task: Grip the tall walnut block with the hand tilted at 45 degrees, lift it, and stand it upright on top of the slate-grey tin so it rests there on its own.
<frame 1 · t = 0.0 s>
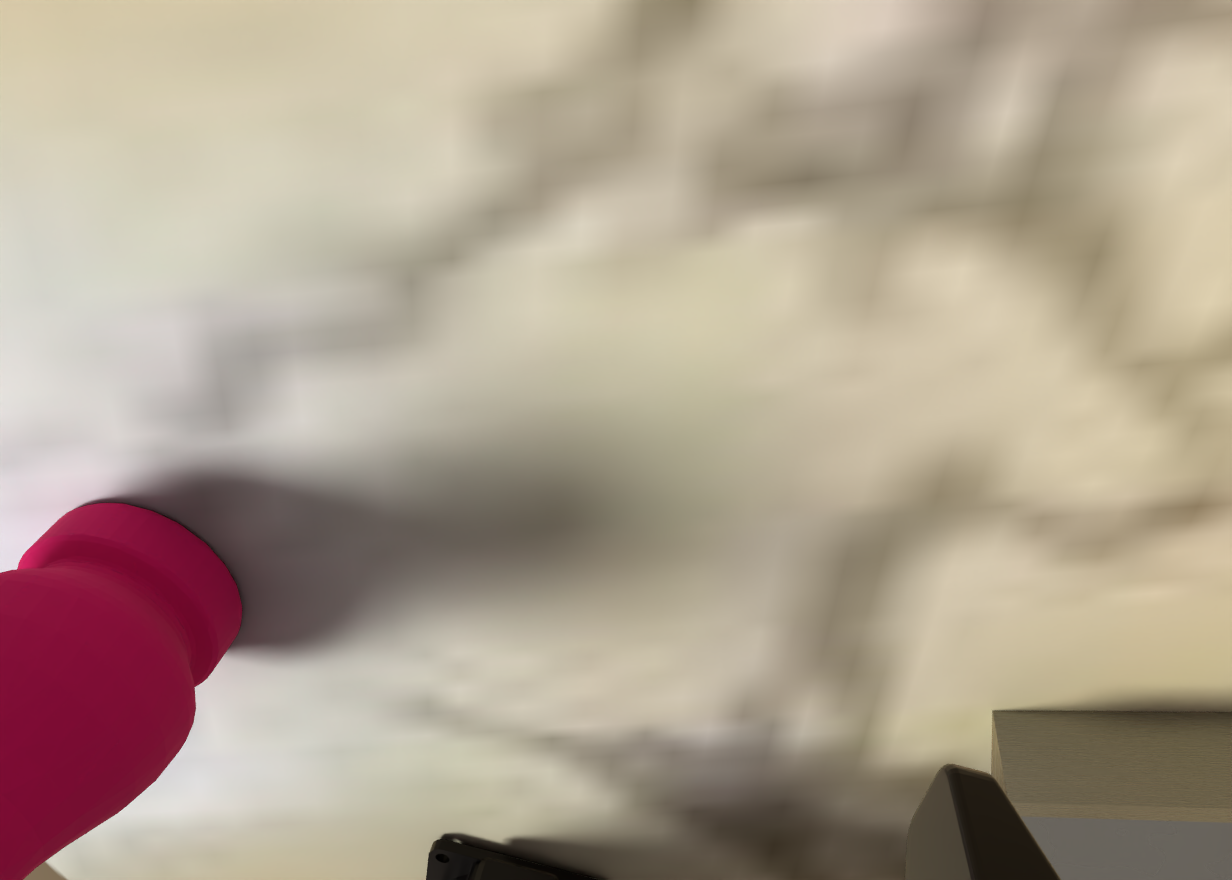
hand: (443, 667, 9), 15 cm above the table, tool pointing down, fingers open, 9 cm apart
pepper mill: (151, 577, 31), on the table
slate tin: (1185, 833, 30), on the table
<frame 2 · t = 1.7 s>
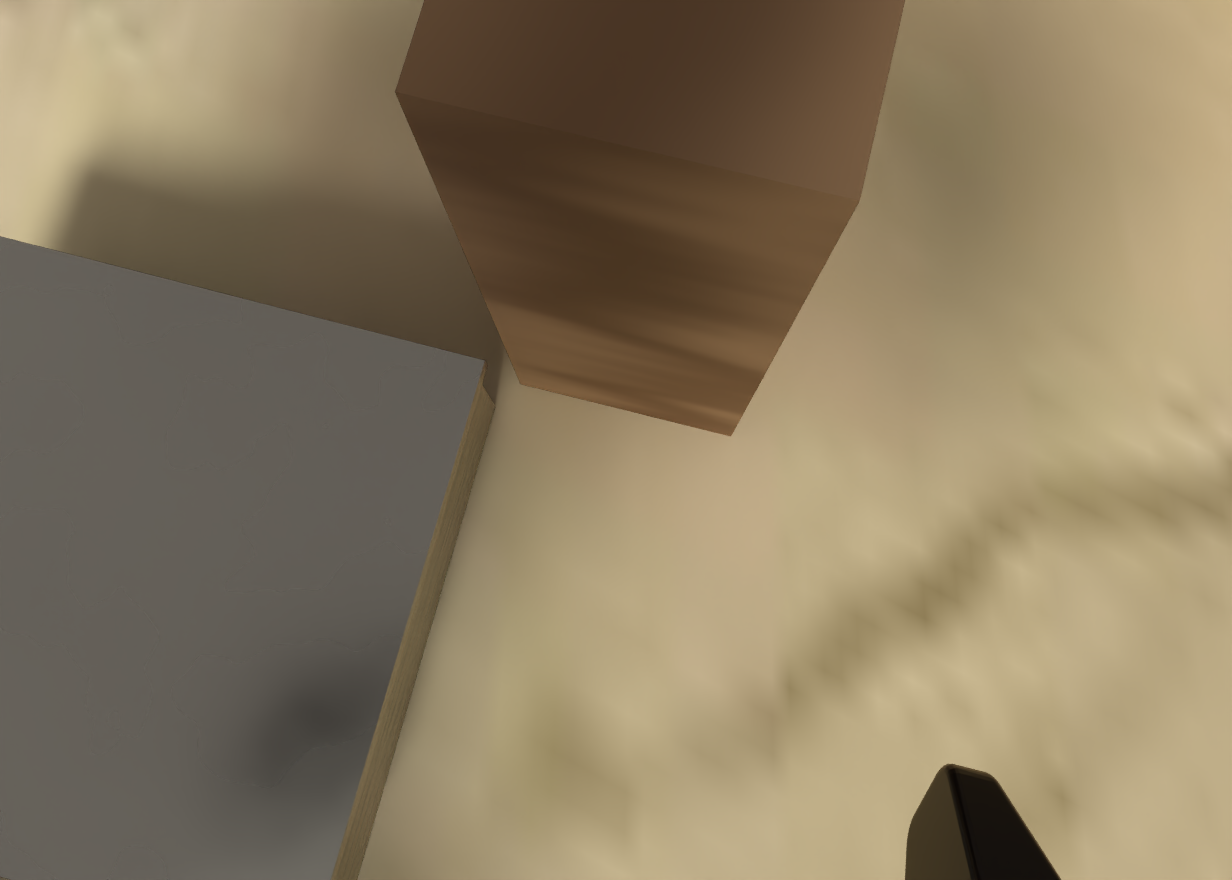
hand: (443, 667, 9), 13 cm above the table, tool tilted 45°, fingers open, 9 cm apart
walnut block: (651, 309, 24), on the table
slate tin: (199, 578, 23), on the table
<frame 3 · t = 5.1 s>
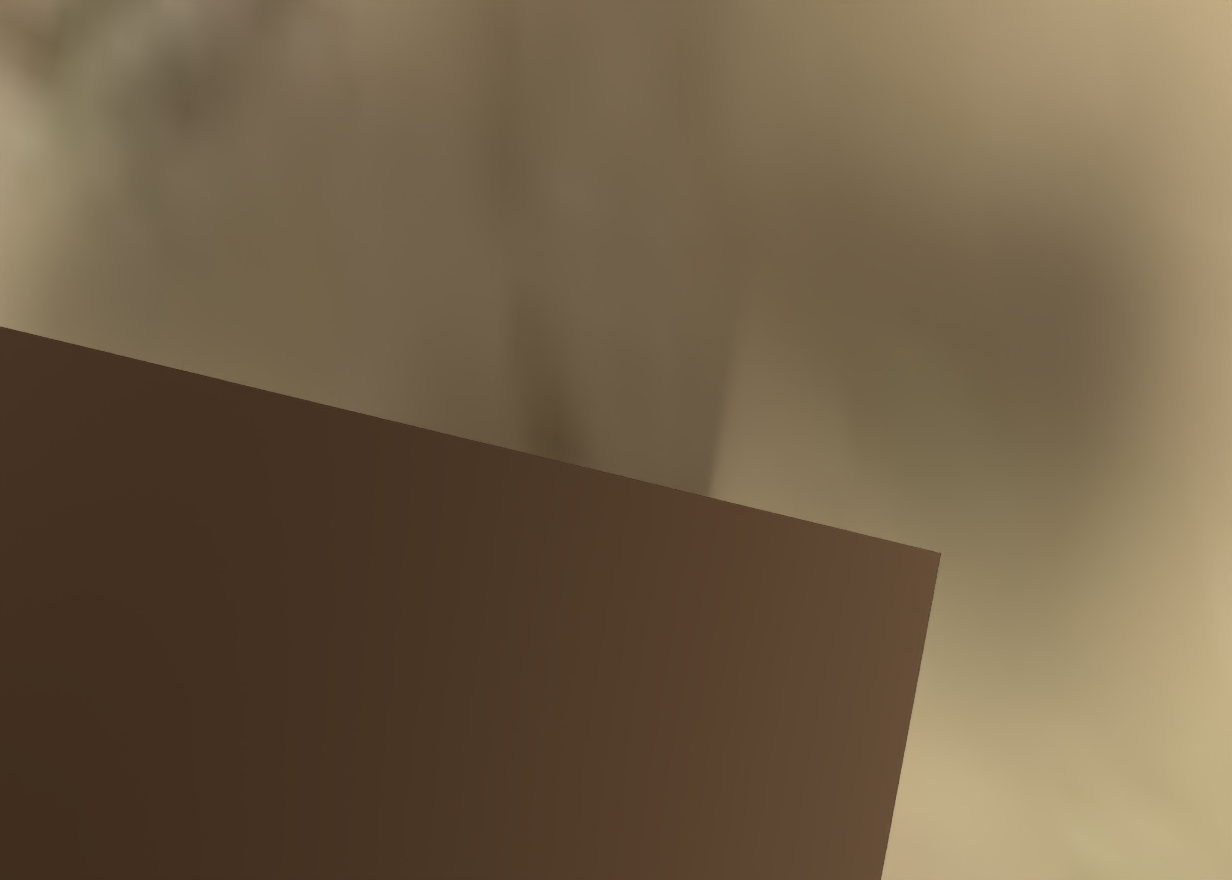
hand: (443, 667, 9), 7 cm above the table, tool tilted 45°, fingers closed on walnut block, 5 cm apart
walnut block: (491, 748, 15), on the table, touching gripper
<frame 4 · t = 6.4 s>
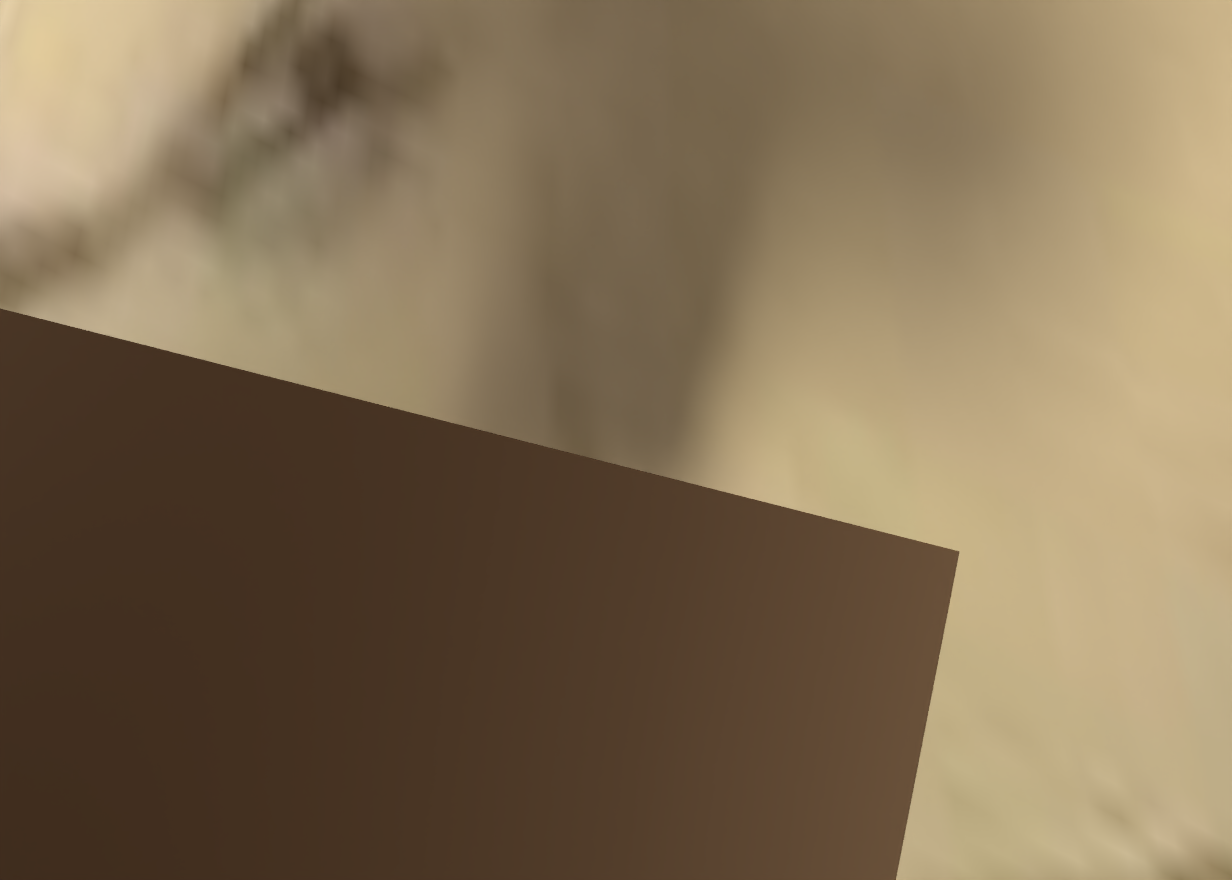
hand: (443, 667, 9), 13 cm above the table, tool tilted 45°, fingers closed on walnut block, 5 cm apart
walnut block: (501, 749, 15), point 7 cm above the table, touching gripper
when the fingers open (12 cm above the table, at t = 8.0 s): walnut block drops 2 cm, resting on slate tin.
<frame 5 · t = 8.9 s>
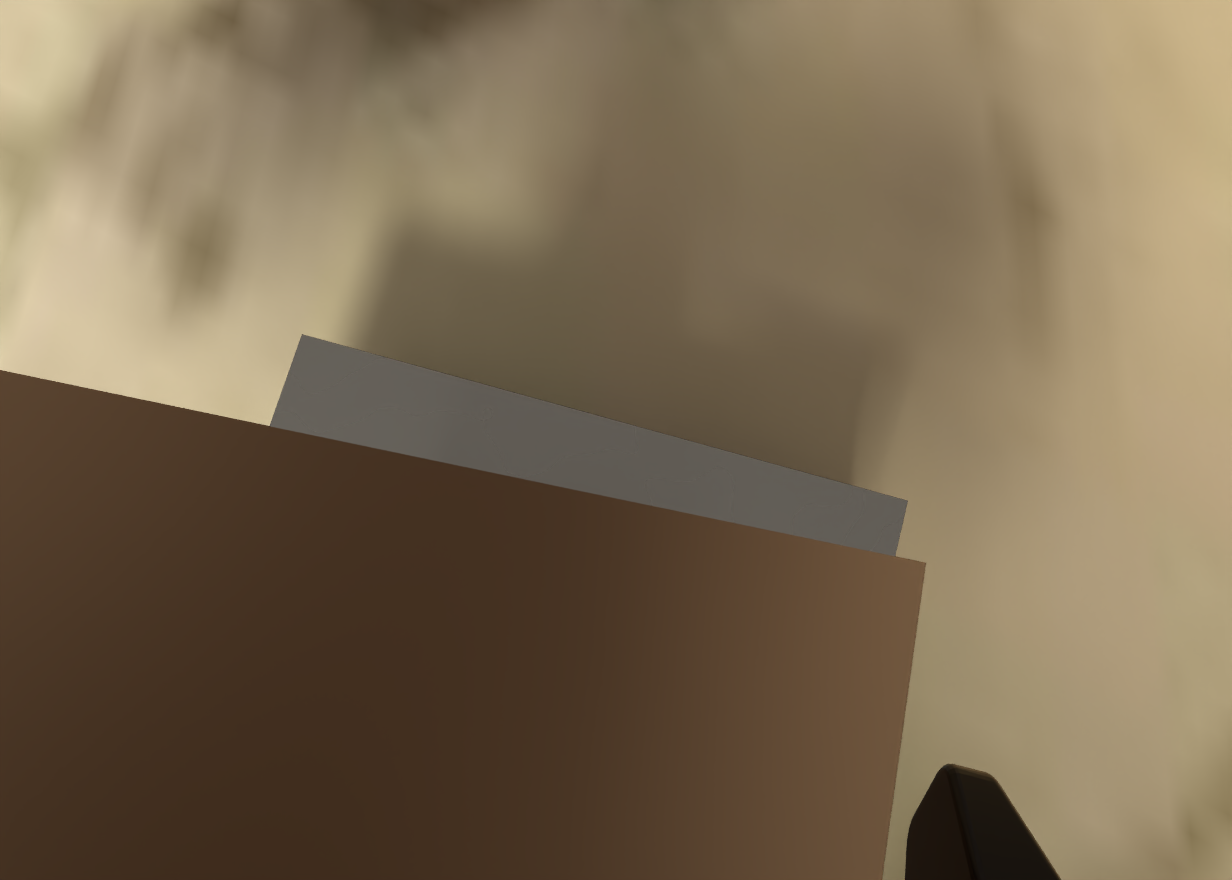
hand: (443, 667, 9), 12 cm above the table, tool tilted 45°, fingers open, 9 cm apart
walnut block: (507, 748, 17), point 4 cm above the table, touching slate tin
slate tin: (528, 712, 21), on the table, touching walnut block
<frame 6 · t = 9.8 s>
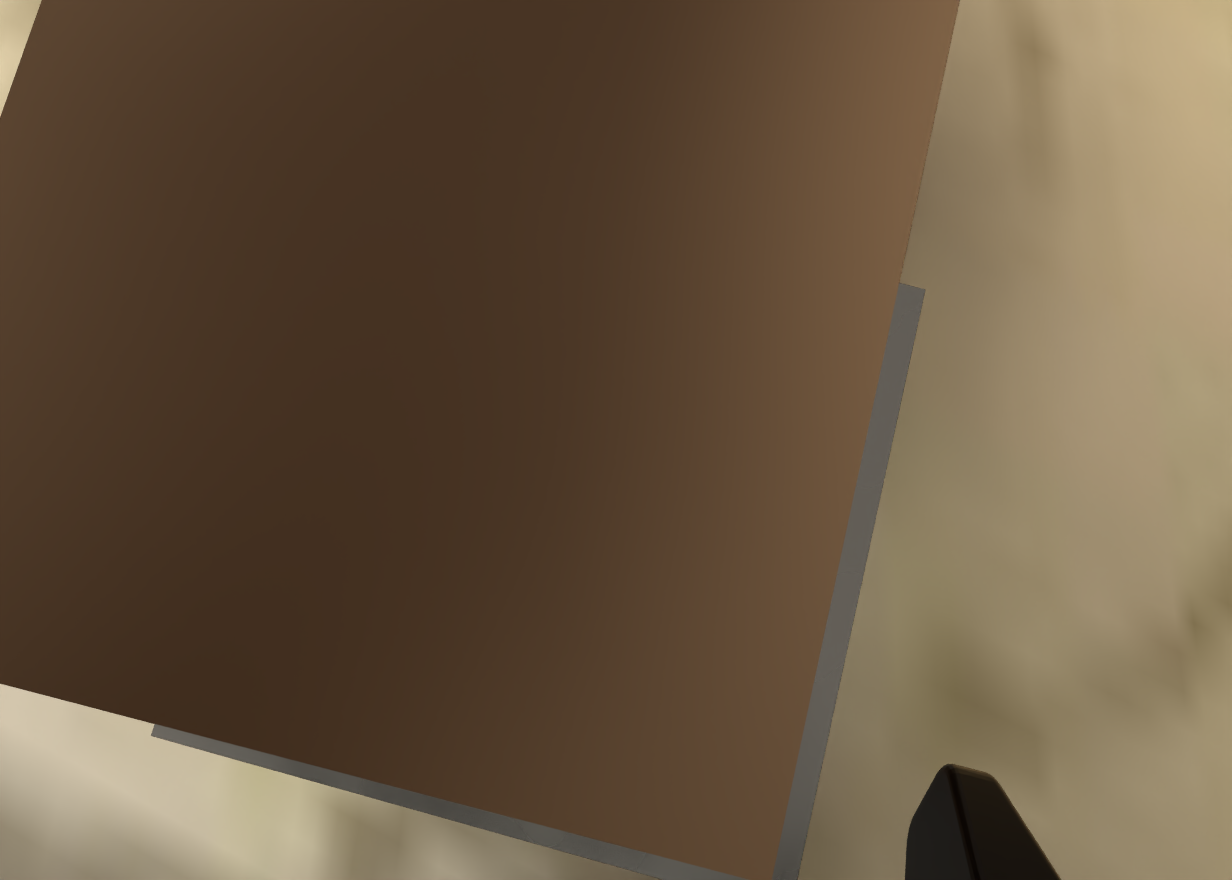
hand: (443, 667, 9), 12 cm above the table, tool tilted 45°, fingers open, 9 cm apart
walnut block: (565, 501, 18), point 4 cm above the table, touching slate tin
slate tin: (565, 526, 22), on the table, touching walnut block
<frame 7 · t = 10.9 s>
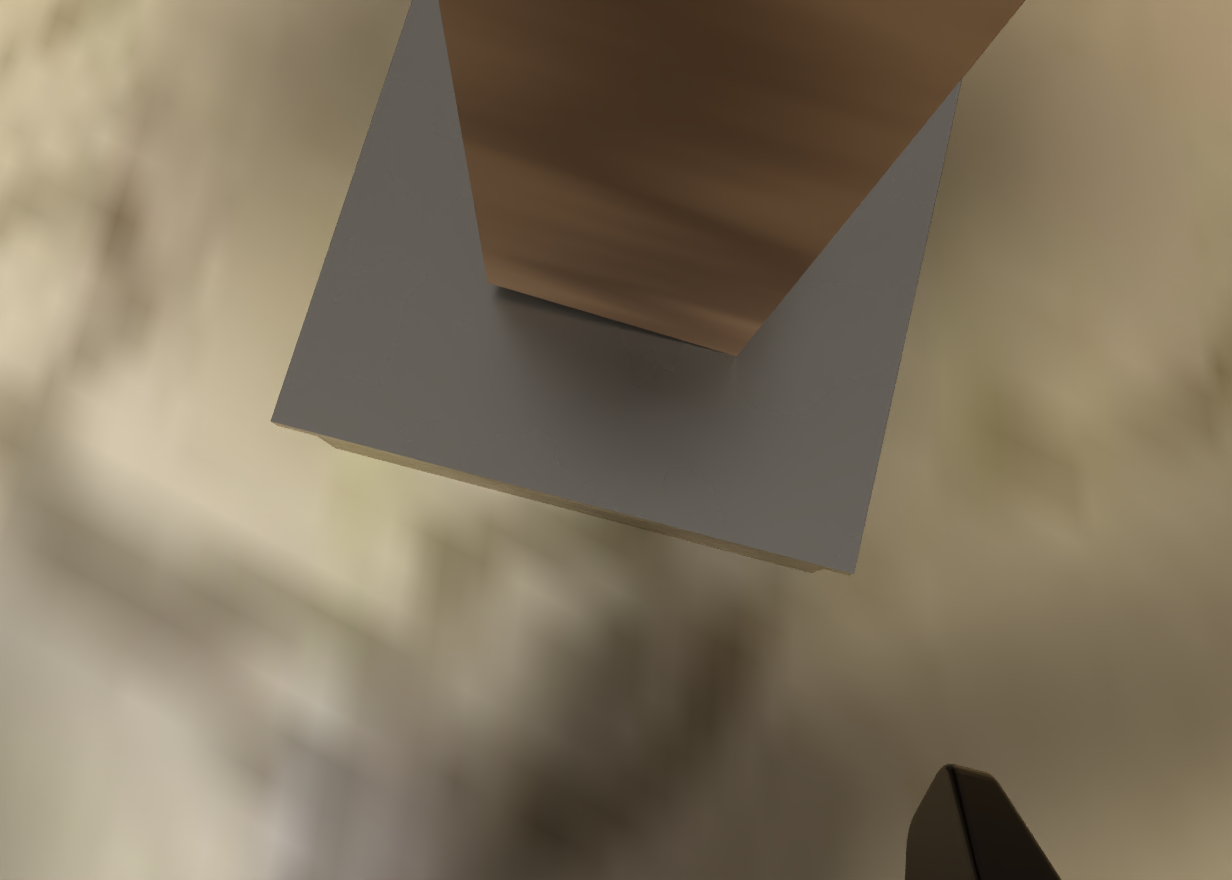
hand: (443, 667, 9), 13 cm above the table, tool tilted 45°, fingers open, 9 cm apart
walnut block: (647, 201, 20), point 4 cm above the table, tilted 5°, touching slate tin
slate tin: (632, 289, 24), on the table, touching walnut block
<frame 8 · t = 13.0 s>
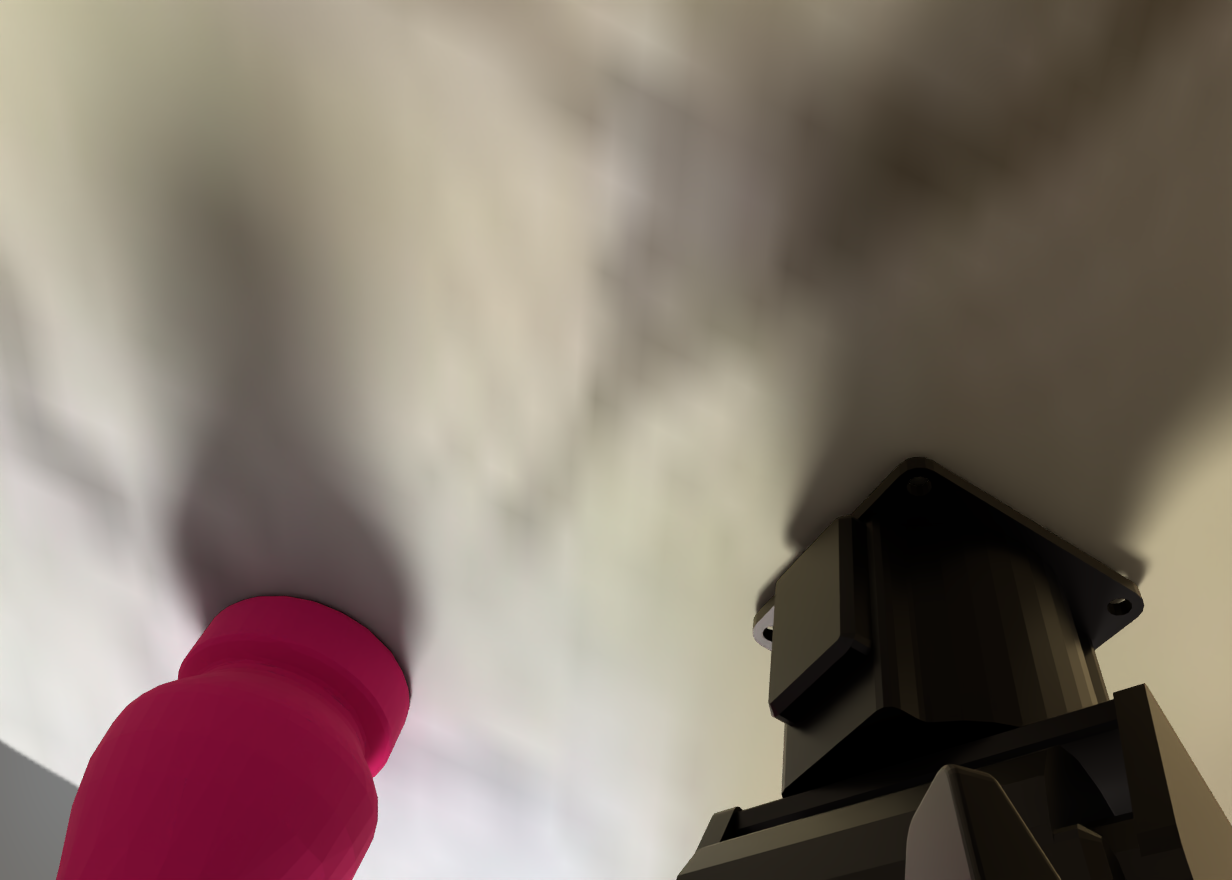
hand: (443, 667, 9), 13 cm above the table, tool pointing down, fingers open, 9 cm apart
pepper mill: (311, 668, 30), on the table
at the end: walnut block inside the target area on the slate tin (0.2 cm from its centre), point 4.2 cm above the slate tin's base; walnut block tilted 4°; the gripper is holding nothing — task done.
